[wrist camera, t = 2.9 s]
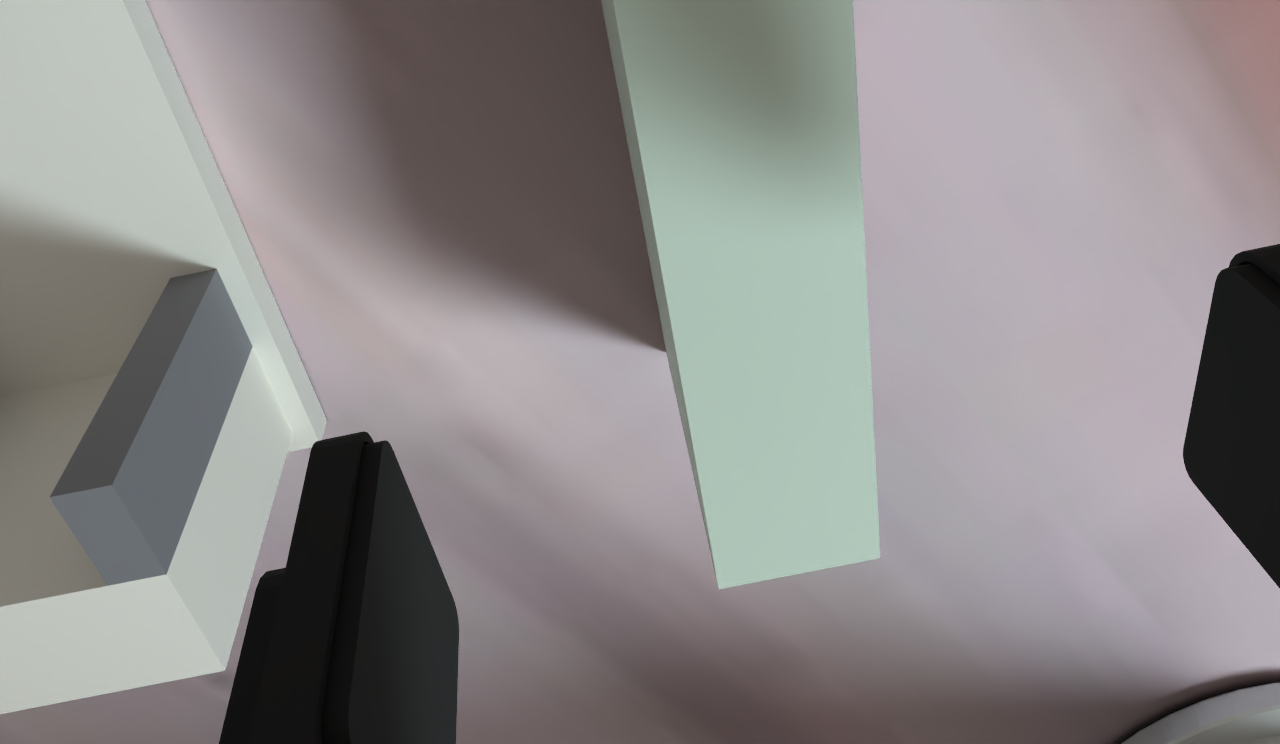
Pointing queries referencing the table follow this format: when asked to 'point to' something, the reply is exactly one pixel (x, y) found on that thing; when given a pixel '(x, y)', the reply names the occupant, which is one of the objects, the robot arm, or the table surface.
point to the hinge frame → (126, 367)
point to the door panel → (758, 267)
